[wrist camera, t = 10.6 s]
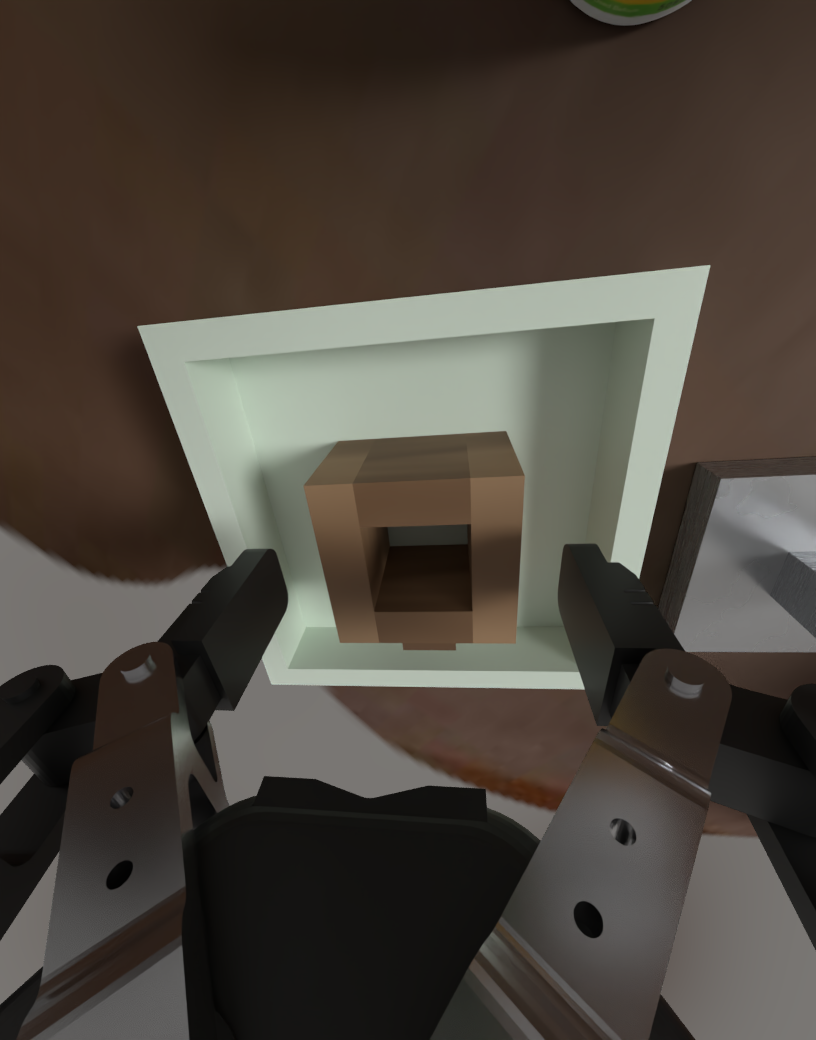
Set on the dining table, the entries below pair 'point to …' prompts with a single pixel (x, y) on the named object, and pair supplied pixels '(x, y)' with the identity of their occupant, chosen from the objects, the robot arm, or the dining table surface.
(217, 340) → the tray
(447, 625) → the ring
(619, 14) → the supplement bottle
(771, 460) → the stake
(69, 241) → the dining table surface
